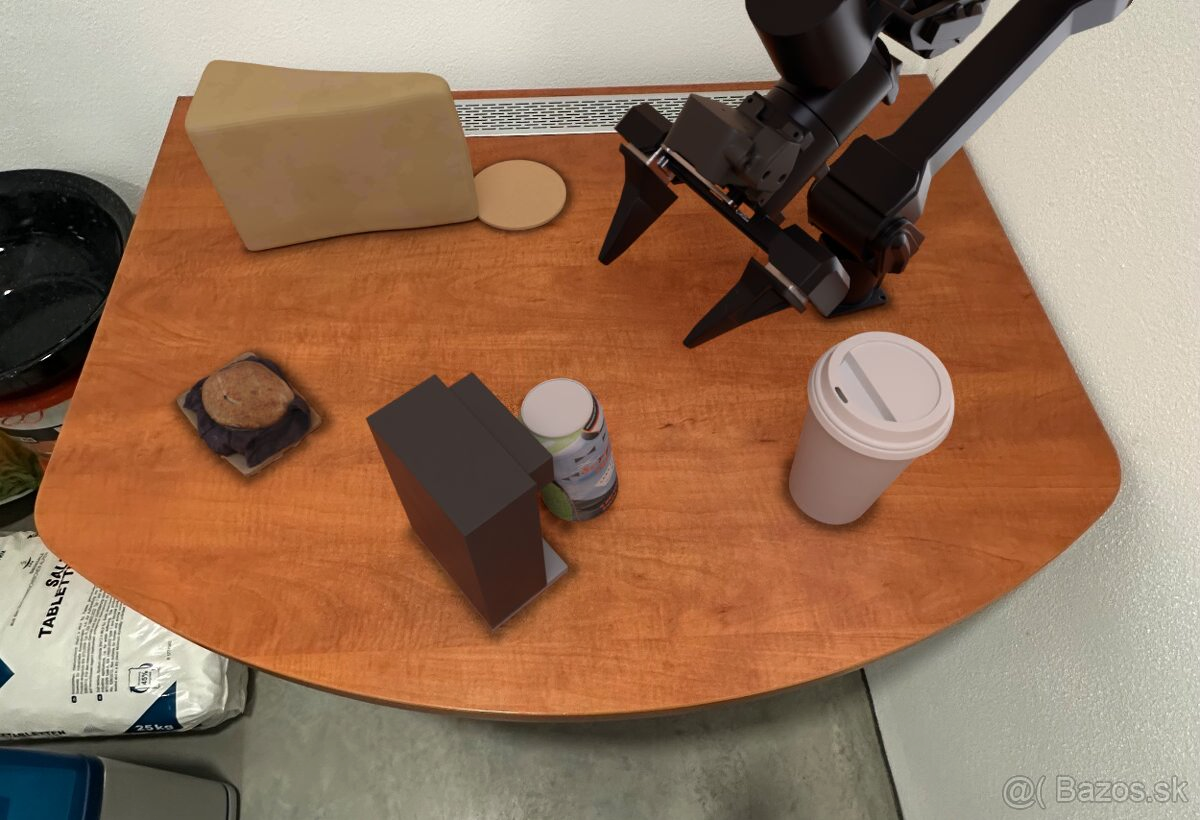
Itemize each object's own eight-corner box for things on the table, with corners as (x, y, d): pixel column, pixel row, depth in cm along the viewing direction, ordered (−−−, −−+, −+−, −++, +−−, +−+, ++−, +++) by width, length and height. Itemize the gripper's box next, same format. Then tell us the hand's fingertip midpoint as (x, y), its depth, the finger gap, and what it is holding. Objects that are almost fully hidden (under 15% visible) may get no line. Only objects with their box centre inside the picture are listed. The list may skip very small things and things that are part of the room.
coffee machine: (488, 481, 64) (461, 356, 50) (568, 571, 60) (564, 463, 46) (414, 533, 61) (365, 417, 47) (493, 631, 57) (464, 536, 43)
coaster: (550, 155, 85) (550, 152, 85) (578, 218, 80) (578, 215, 80) (458, 173, 83) (457, 170, 83) (480, 239, 78) (480, 236, 78)
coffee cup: (764, 434, 66) (807, 318, 54) (879, 438, 66) (949, 324, 54) (774, 540, 61) (824, 440, 49) (899, 545, 61) (981, 446, 49)
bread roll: (172, 407, 67) (152, 381, 64) (259, 349, 70) (243, 323, 67) (241, 485, 63) (223, 462, 60) (330, 421, 66) (317, 396, 63)
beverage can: (609, 535, 61) (614, 458, 51) (516, 517, 62) (503, 437, 52) (624, 465, 65) (632, 379, 55) (536, 449, 65) (527, 361, 55)
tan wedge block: (482, 181, 82) (460, 46, 69) (476, 251, 77) (452, 118, 64) (265, 186, 82) (204, 50, 69) (245, 255, 76) (174, 123, 64)
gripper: (662, -25, 48) (499, 181, 51) (899, 141, 40) (687, 371, 43) (723, 71, 58) (583, 238, 61) (923, 219, 50) (748, 401, 53)
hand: (642, 303), depth 54 cm, fingers open, 9 cm apart
